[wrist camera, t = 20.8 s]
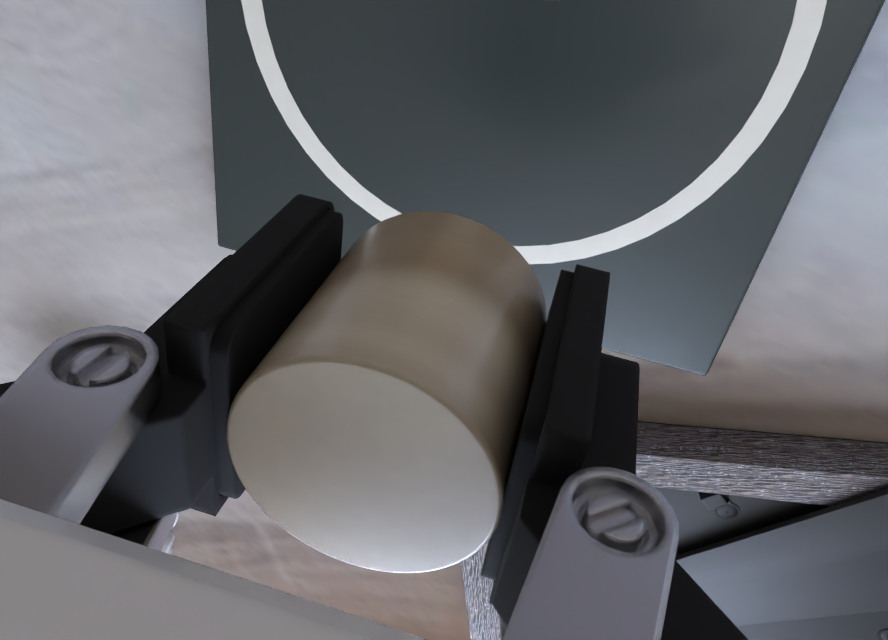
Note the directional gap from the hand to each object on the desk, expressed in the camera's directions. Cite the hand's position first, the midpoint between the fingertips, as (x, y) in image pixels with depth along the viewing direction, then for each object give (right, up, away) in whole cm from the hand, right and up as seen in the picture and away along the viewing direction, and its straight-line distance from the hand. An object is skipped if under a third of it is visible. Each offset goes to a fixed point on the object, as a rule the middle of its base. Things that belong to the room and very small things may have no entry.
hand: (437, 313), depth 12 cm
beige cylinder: (0, 0, 0) cm, 0 cm away
